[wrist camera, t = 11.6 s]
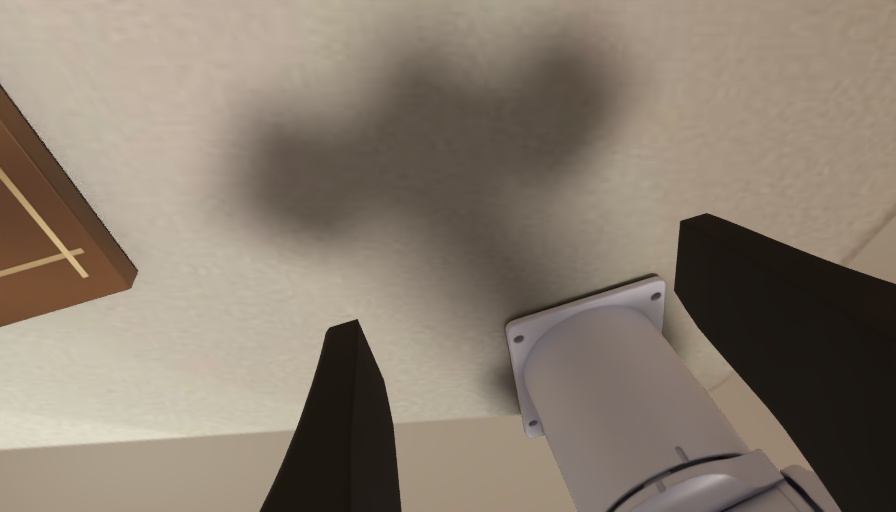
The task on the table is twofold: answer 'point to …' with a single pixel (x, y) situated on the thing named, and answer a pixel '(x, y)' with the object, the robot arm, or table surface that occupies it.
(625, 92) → the table surface
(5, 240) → the board
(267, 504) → the robot arm
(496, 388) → the table surface
